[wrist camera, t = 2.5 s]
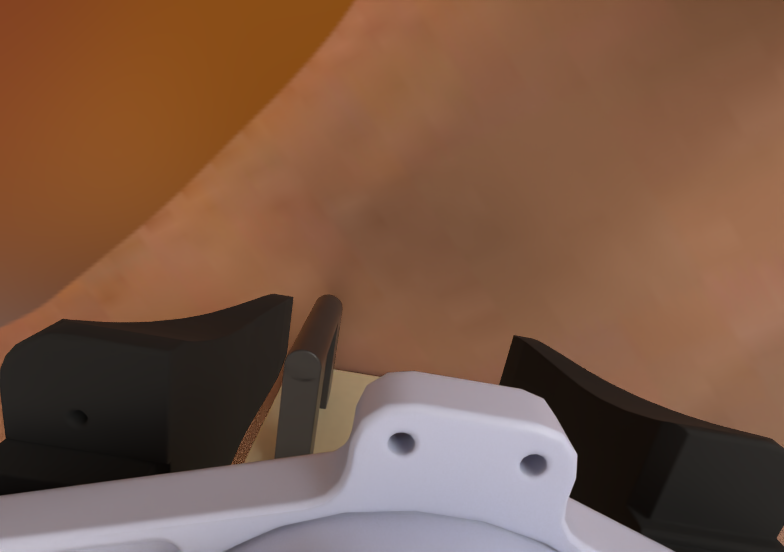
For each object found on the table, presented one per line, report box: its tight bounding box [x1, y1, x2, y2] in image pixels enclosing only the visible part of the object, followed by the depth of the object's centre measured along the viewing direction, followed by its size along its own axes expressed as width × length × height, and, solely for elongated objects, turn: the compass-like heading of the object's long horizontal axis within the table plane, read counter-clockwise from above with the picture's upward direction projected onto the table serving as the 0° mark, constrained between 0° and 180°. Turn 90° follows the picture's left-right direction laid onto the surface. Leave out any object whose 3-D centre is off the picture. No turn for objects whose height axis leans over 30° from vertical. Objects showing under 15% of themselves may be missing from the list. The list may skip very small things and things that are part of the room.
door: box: [244, 295, 380, 463], centre depth 20 cm, size 6×16×10 cm, turn 80°
